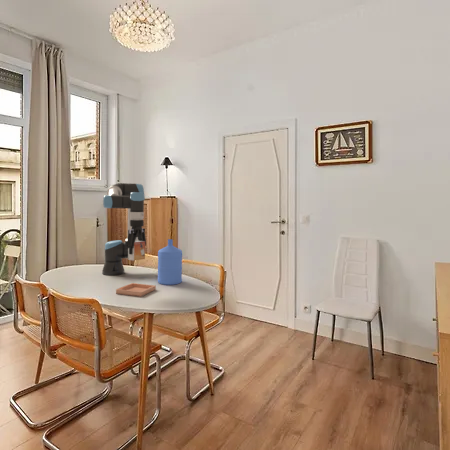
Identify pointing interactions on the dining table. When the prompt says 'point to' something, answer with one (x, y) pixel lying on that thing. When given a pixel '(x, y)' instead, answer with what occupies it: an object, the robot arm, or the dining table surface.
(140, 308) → the dining table surface
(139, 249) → the small box
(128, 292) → the holder
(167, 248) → the water jug
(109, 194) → the robot arm
